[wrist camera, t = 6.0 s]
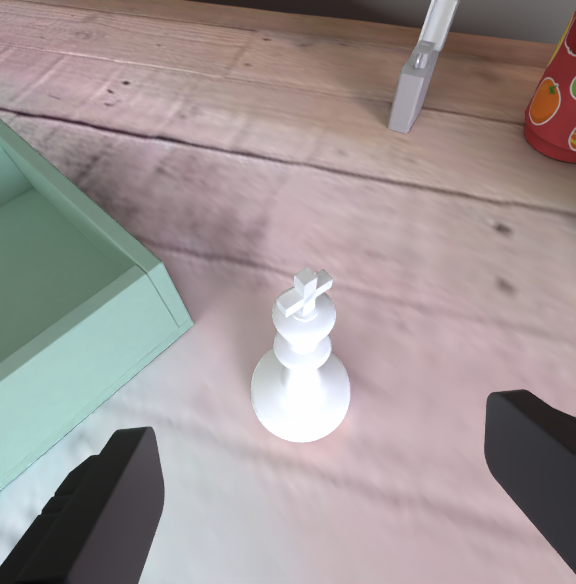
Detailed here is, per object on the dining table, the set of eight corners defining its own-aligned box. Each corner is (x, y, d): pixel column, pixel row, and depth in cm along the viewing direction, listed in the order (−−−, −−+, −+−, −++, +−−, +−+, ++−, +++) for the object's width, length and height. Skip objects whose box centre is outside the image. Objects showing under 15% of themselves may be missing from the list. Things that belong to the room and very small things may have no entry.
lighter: (407, 134, 29) (442, 15, 22) (386, 128, 29) (413, 9, 23) (432, 88, 32) (469, -27, 25) (412, 84, 33) (444, -31, 26)
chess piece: (231, 380, 19) (179, 262, 10) (307, 327, 20) (318, 185, 12) (290, 465, 16) (288, 407, 8) (370, 398, 18) (439, 290, 10)
